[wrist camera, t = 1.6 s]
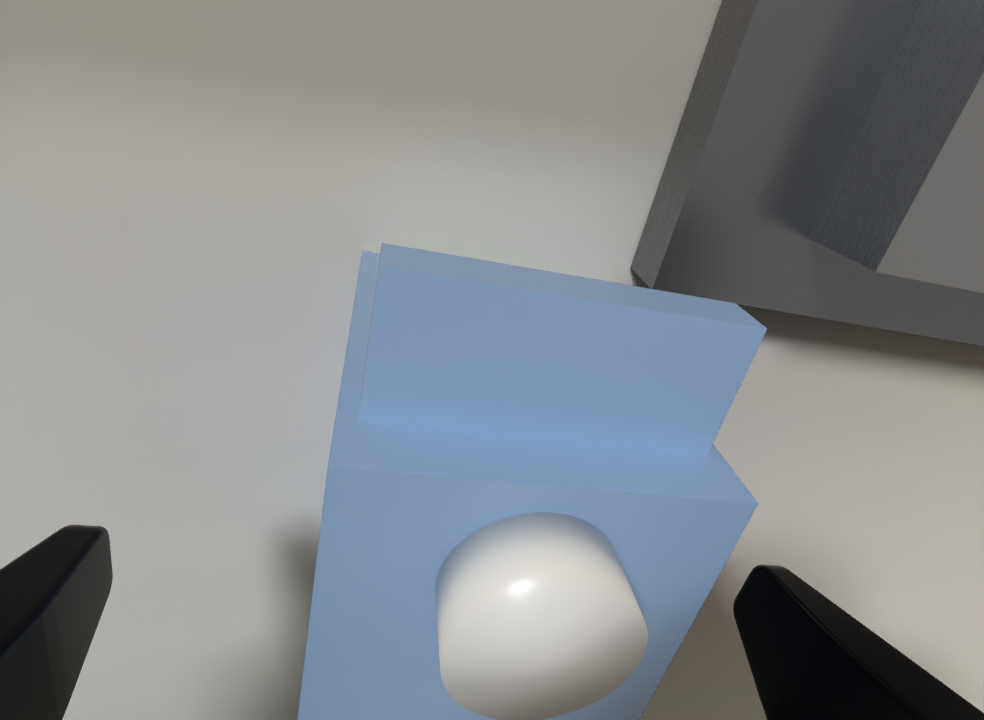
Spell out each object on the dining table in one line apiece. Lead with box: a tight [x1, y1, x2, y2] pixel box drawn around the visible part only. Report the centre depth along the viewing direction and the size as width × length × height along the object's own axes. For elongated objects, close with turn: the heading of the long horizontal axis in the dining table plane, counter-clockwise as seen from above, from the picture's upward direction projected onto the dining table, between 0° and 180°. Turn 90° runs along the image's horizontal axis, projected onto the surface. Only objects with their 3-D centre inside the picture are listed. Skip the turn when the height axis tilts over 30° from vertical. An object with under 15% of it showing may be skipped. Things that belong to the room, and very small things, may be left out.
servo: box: [297, 243, 767, 720], centre depth 9 cm, size 9×4×6 cm, turn 167°
